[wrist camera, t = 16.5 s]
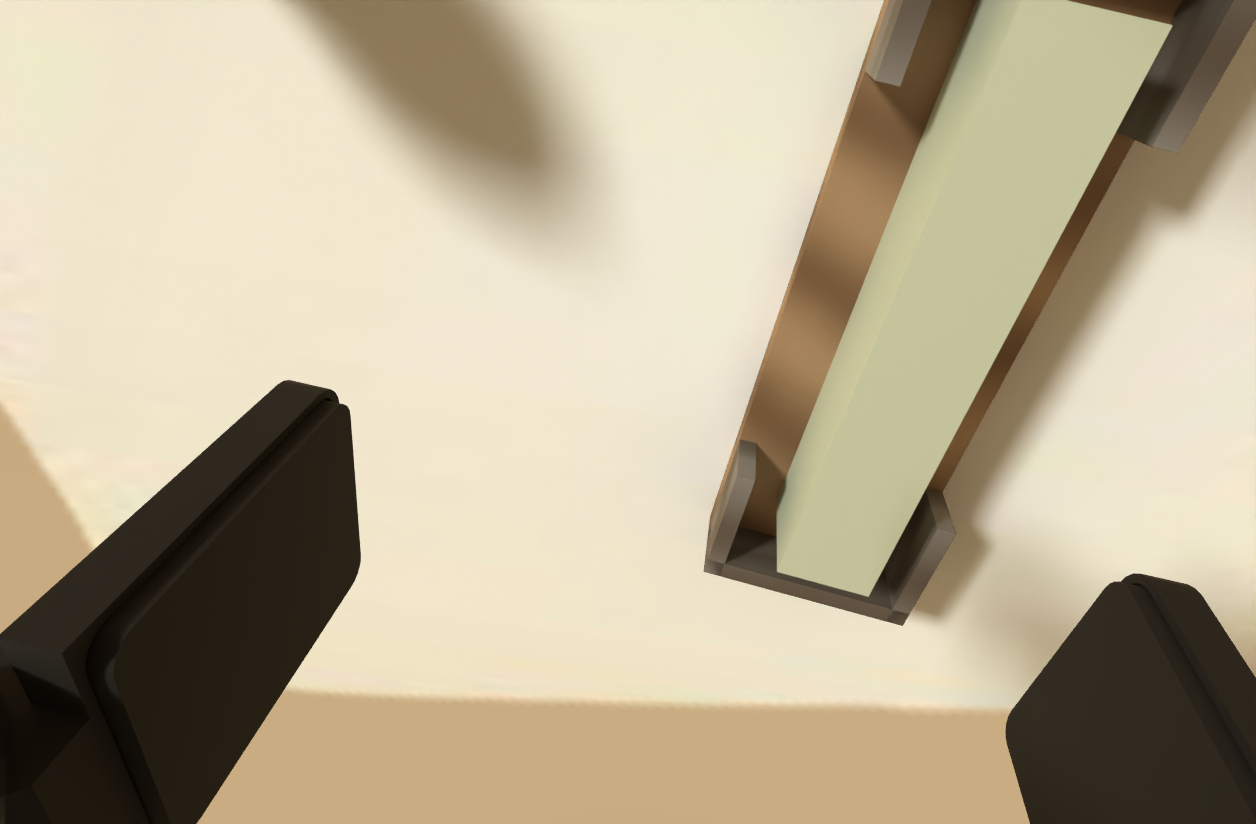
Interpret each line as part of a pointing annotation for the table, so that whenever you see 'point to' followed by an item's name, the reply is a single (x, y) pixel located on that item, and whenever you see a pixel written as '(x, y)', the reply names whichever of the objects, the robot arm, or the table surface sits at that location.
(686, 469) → the table surface
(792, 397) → the cradle
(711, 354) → the table surface
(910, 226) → the slat
